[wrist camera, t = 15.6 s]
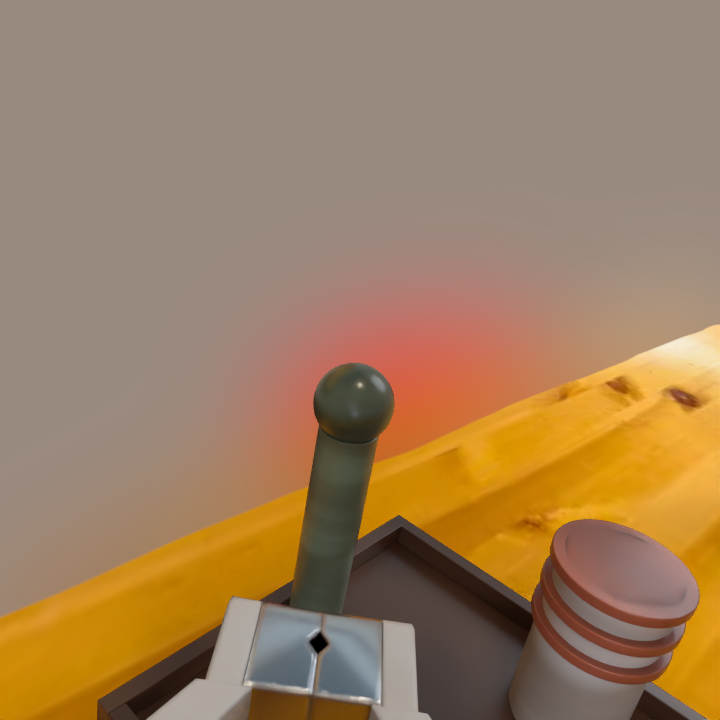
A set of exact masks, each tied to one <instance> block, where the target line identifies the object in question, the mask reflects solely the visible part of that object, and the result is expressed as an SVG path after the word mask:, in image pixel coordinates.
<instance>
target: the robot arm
mask: <svg viewBox="0 0 720 720" xmlns="http://www.w3.org/2000/svg"><path fill="white" fill-rule="evenodd" d="M146 720H432V719H431V718H430V716H429V715H428V714H426V713H421V712H418V694H417V672H416V650H415V629H414V627H413V625H412V624H408V623H401V622H394V621H387V620H382V621H381V620H379V619H373V618H366V617H359V616H352V615H345V614H338V613H331V612H324V611H322V612H321V611H315V610H310V609H304V608H299V607H293V606H288V605H282V604H277V603H271V602H266V601H263V602H262V601H256V600H251V599H245V598H240V597H235V596H232V598H231V600H230V601H229V603H228V606H227V609H226V613H225V616H224V619H223V622H222V626H221V629H220V632H219V636H218V639H217V642H216V645H215V649H214V652H213V655H212V659H211V662H210V665H209V668H208V672H207V675H206V678H205V680H204V679H194V680H193V681H192V682H191V683H190V684H188V685H187V686H186V687H185V688H184V689H182V690H181V691H180V692H179V693H178V694H176V695H175V696H174V697H173V698H172V699H170V700H169V701H168V702H167V703H166V704H164V705H163V706H162V707H161V708H160V709H158V710H157V711H156V712H155V713H153V714H152V715H151V716H150V717H149V718H147V719H146Z"/></svg>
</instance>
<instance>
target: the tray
mask: <svg viewBox="0 0 720 720" xmlns="http://www.w3.org/2000/svg"><path fill="white" fill-rule="evenodd" d="M313 405H314V413H315V416H316V419H317V421H318V423H319V429H318V434H317V441H316V446H315V453H314V459H313V465H312V471H311V477H310V483H309V489H308V495H307V501H306V507H305V514H304V520H303V526H302V532H301V538H300V544H299V550H298V556H297V562H296V568H295V575H294V580H292V581H291V582H289V583H287V584H286V585H284V586H283V587H281V588H279V589H278V590H276V591H274V592H273V593H271V594H270V595H268V596H266V597H265V598H263V599H261V600H260V601H262V602H263V601H266V602H271V603H277V604H282V605H288V606H293V607H299V608H304V609H310V610H315V611H321V612H322V611H324V612H331V613H338V614H345V615H352V616H359V617H366V618H373V619H379V620H381V621H382V620H387V621H394V622H401V623H408V624H412V625H413V627H414V629H415V650H416V672H417V694H418V712H421V713H426V714H428V715H429V716H430V718H431V719H432V720H708V719H706V718H705V717H703V716H702V715H700V714H699V713H697V712H696V711H694V710H693V709H691V708H690V707H688V706H687V705H685V704H684V703H682V702H681V701H679V700H678V699H676V698H675V697H673V696H671V695H670V694H668V693H667V692H665V691H664V690H662V689H661V688H659V687H658V686H656V685H655V684H653V683H652V681H654V680H655V679H657V678H659V677H660V676H661V675H662V674H663V673H664V672H665V671H666V669H667V667H668V665H669V663H670V661H671V658H672V654H673V650H674V649H675V648H676V647H677V645H678V644H679V643H680V641H681V639H682V637H683V634H684V632H685V627H686V622H687V621H688V620H689V619H690V618H691V617H692V616H693V614H694V612H695V610H696V608H697V606H698V603H699V598H700V596H699V589H698V585H697V583H696V581H695V578H694V577H693V575H692V574H691V572H690V571H689V569H688V568H687V567H686V566H685V564H684V563H683V562H682V561H681V560H680V559H679V558H678V557H677V556H675V555H674V554H673V553H672V552H671V551H670V550H668V549H667V548H666V547H664V546H663V545H661V544H660V543H658V542H657V541H655V540H653V539H652V538H650V537H648V536H646V535H644V534H642V533H640V532H638V531H636V530H633V529H631V528H628V527H626V526H623V525H619V524H616V523H612V522H608V521H602V520H592V519H584V520H576V521H572V522H569V523H567V524H564V525H563V526H562V527H560V528H559V529H558V530H557V531H556V533H555V535H554V537H553V540H552V543H551V546H550V556H549V557H548V558H547V559H546V561H545V563H544V565H543V568H542V571H541V575H540V582H539V583H538V584H537V586H536V588H535V590H534V593H533V596H532V600H531V602H530V601H528V600H527V599H525V598H524V597H522V596H520V595H519V594H517V593H516V592H514V591H513V590H511V589H510V588H508V587H507V586H505V585H504V584H502V583H501V582H499V581H498V580H496V579H495V578H493V577H492V576H490V575H489V574H487V573H486V572H484V571H483V570H481V569H480V568H478V567H477V566H475V565H474V564H472V563H471V562H469V561H468V560H466V559H465V558H463V557H462V556H460V555H459V554H457V553H456V552H454V551H453V550H451V549H450V548H448V547H447V546H445V545H443V544H442V543H440V542H439V541H437V540H436V539H434V538H433V537H431V536H430V535H428V534H427V533H425V532H424V531H422V530H421V529H419V528H418V527H416V526H415V525H413V524H412V523H410V522H408V521H407V520H406V519H404V518H403V517H401V516H400V515H398V516H396V517H395V518H393V519H391V520H390V521H388V522H386V523H385V524H383V525H382V526H380V527H378V528H377V529H375V530H373V531H372V532H370V533H369V534H367V535H365V536H364V537H362V538H361V539H359V540H357V538H358V534H359V529H360V524H361V519H362V514H363V510H364V505H365V500H366V495H367V490H368V485H369V481H370V476H371V471H372V466H373V461H374V456H375V452H376V447H377V442H378V437H379V435H380V434H381V433H382V432H383V431H384V430H385V429H386V427H387V426H388V424H389V423H390V421H391V418H392V416H393V412H394V395H393V391H392V388H391V386H390V384H389V382H388V381H387V379H386V378H385V377H384V376H383V375H382V374H381V373H380V372H379V371H377V370H376V369H374V368H373V367H370V366H368V365H365V364H361V363H348V364H343V365H340V366H338V367H335V368H334V369H332V370H330V371H329V372H328V373H327V374H326V375H325V376H324V377H323V378H322V379H321V381H320V382H319V384H318V386H317V388H316V391H315V394H314V402H313ZM221 626H222V624H221V625H219V626H218V627H216V628H214V629H213V630H211V631H210V632H208V633H206V634H205V635H203V636H201V637H200V638H198V639H197V640H195V641H193V642H192V643H190V644H188V645H187V646H185V647H184V648H182V649H180V650H179V651H177V652H175V653H174V654H172V655H171V656H169V657H167V658H166V659H164V660H162V661H161V662H159V663H158V664H156V665H154V666H153V667H151V668H149V669H148V670H146V671H145V672H143V673H141V674H140V675H138V676H136V677H135V678H133V679H132V680H130V681H128V682H127V683H125V684H123V685H122V686H120V687H119V688H117V689H115V690H114V691H112V692H110V693H109V694H107V695H106V696H104V697H102V698H101V699H99V700H98V702H97V720H146V719H147V718H149V717H150V716H151V715H152V714H153V713H155V712H156V711H157V710H158V709H160V708H161V707H162V706H163V705H164V704H166V703H167V702H168V701H169V700H170V699H172V698H173V697H174V696H175V695H176V694H178V693H179V692H180V691H181V690H182V689H184V688H185V687H186V686H187V685H188V684H190V683H191V682H192V681H193V680H194V679H204V680H205V678H206V675H207V672H208V668H209V665H210V662H211V659H212V655H213V652H214V649H215V645H216V642H217V639H218V636H219V632H220V629H221Z"/></svg>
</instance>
